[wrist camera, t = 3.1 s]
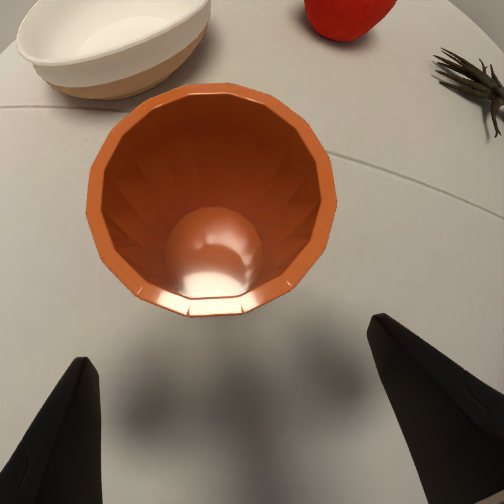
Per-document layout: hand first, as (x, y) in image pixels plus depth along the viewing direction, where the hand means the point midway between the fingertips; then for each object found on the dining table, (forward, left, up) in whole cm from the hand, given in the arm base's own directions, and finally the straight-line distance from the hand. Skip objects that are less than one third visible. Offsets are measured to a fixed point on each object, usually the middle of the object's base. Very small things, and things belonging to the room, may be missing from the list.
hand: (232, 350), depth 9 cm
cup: (+4, -3, -11) cm, 12 cm away
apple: (+11, -28, -11) cm, 33 cm away
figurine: (-7, -38, -11) cm, 40 cm away
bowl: (+22, -11, -11) cm, 27 cm away
